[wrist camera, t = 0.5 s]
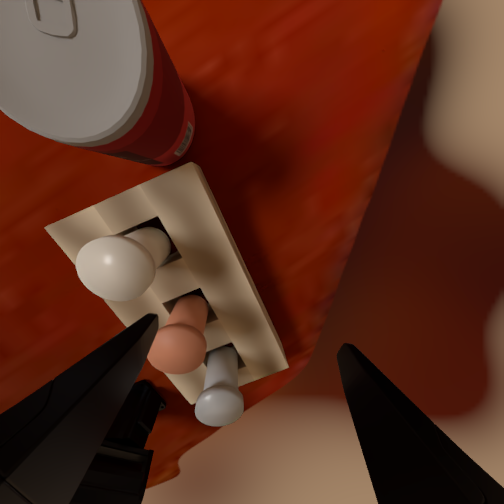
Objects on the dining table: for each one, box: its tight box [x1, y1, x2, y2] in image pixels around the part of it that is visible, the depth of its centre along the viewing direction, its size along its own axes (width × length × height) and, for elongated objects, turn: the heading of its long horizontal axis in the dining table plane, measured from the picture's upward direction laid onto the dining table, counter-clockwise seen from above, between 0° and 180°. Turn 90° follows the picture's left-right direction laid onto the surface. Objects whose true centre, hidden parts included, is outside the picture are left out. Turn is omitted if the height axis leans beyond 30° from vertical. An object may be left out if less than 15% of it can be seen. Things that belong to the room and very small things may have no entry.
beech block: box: [44, 162, 289, 404], centre depth 22 cm, size 14×26×4 cm, turn 22°
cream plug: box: [76, 227, 171, 301], centre depth 15 cm, size 5×5×6 cm
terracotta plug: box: [147, 295, 209, 374], centre depth 18 cm, size 5×5×6 cm
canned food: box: [0, 0, 195, 166], centre depth 12 cm, size 8×8×11 cm
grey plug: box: [195, 346, 244, 426], centre depth 21 cm, size 5×5×6 cm
